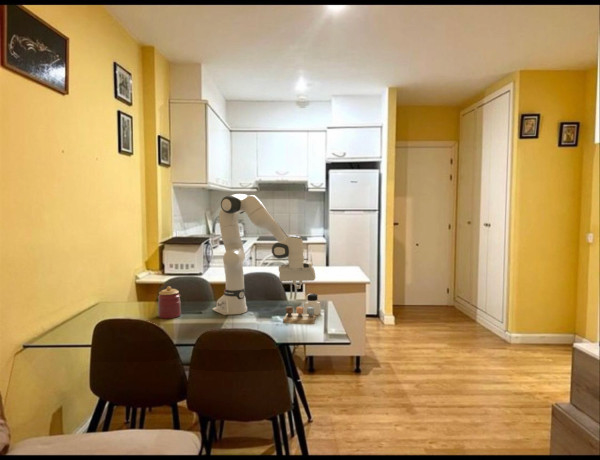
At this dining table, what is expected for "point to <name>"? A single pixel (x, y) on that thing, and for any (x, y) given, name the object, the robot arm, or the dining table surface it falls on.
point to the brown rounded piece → (289, 310)
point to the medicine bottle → (312, 304)
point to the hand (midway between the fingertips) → (297, 288)
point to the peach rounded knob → (299, 311)
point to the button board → (299, 318)
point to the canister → (169, 303)
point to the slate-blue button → (310, 311)
